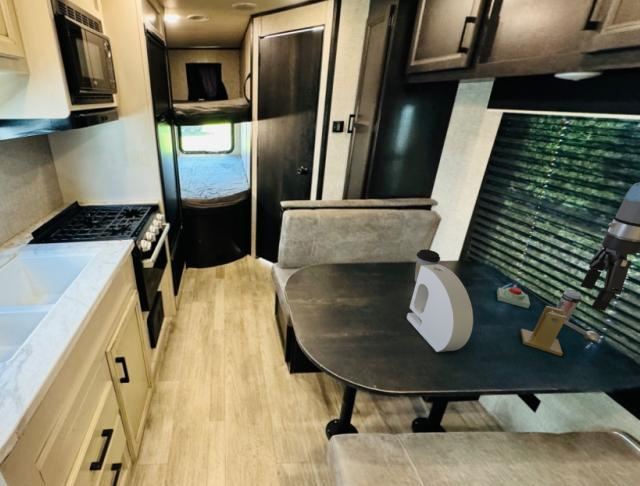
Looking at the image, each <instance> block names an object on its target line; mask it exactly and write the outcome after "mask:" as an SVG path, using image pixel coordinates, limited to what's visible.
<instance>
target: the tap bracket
mask: <svg viewBox="0 0 640 486" xmlns="http://www.w3.org/2000/svg"><path fill="white" fill-rule="evenodd" d="M550 310H554V311H555V312H557V313H559V314H561V315H559V314H555V313H552V312H549V311H550ZM563 312H564V310H561V309H557V308H556V307H553V306H549V305H545V307H544V309H543V311H542V313H541V315H540V317H539V319H538V321H537V323H536V326H535V327H534V329H533V331H531V330H529V329H525V328H521V329H520V335H521V341H522V344H523V345H525V346H528V347H531V348H534V349H538V350H541V351H545V352H547V353H551V354H554V355H556V356H560V357H562V356H563V354H564V353H563V350H562V347H561V344H560V341H559V339H558V338H557V337H558V335H559V333H560V331H561V329H562V327H563V325H565V324H564V322H565V320H566V316H563V315H562V314H563ZM546 313H547V315H546Z"/></svg>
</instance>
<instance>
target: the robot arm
mask: <svg viewBox="0 0 640 486" xmlns="http://www.w3.org/2000/svg"><path fill="white" fill-rule="evenodd" d="M600 244H601V247H600V248H599V249H598V251H597V252H596V253H595V254H594V256H592V257H591V259H590V260H589V261H588V265H589V266H588V268H589V269H588V270H587V272H586V273H585V275H584V278H583V280H582V281H581V283H580V288H584V289H589V290H593V289H594V288H595V285H596V283H597V281H598V280H599V278H600V276H601V275H602V272H604V271H605V269H606V272H605V273H606V274H605V277H604V278H605V279H604V284H603V287H600V288H599V292H598V294H597V296H596V297H595V299H594V301H593V302H592V304H591V308H592V309H594V310H595V309H596V310H600V311H603V312H605V311H606V310H607V309H608V307H609V305H610V303H611V301H612V299H613V298H614V297H615V295H619V296H620V295H621V294H622V292H623V289H624V285H625V282H626V279H627V275H628V272H629V268H630V267H631V265H632V262H633V261H632V260H628V256H629V255H631V254H632V255H636V254H638V253H639V254H640V181H639V182H635V183H634V184H632V185H631V187H630V188H629V189H628V191H627V192H626V195H624V196H623V200H622V203H621V204H620V207H619V208H618V211H617V212H616V214H615V216H614V218H613V220H612V222H609V223H608V230H607V233H605V234H604V237H603V238H602V241H601V242H600Z"/></svg>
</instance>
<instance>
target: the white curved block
mask: <svg viewBox="0 0 640 486" xmlns="http://www.w3.org/2000/svg"><path fill="white" fill-rule="evenodd" d="M409 309H410V310H411V311H412V312H408V313H407V314H406V319H407V321H408V322H409V323H410V324H411V325H412V326H413V327H414V328H415V330H416V331H417V332H418V333H419V334H420V336H422V337H423V339H424V340H425V341H426V342H427V343H428V344H429V345H430V347H432V349H433V350H434V351H435V352H436V353H441V352H452V351H457V350H460V349H462V348H463V347H464V346H465V345H466V344H467V343H468V341H469V340H470V337H471V334H472V331H473V327H474V313H473V312H474V311H473V307H472V302H471V299H470V297H469V293H468V291H467V289H466V287H465V286H464V284H463V282H462V281H461V280H460V278H459V277H458V276H457V275H456V274H455V273H454V272H453V271H452V270H450V269H449V268H447V266H444V265H442V264H439V263H437V264H436V265H421V267H420V271H419V275H418V278H417V282H415V286H414V290H413V294H412V297H411V300H410V304H409Z"/></svg>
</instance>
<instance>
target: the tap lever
mask: <svg viewBox="0 0 640 486" xmlns="http://www.w3.org/2000/svg"><path fill="white" fill-rule="evenodd" d="M549 312H552V313H555V314H559V313H557V312H555V311H554V310H550V311H549ZM546 315H547V313H546ZM559 315H561V314H559ZM563 325H565V326H568V327H569V328H570V329H572V330H575V331H576V332H577V333H580V334H581V335H583V336H582V337H583V338H584V340H586V341H587V342H589V343H597V342H599V341H600V339H601V336H600V334H599V333H597V332H596V331H594V330H585V329H583V328H581V327H579V326H578V325H576V324H574V323H572V322H571V321H567V320H565V322H564V324H563Z"/></svg>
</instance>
